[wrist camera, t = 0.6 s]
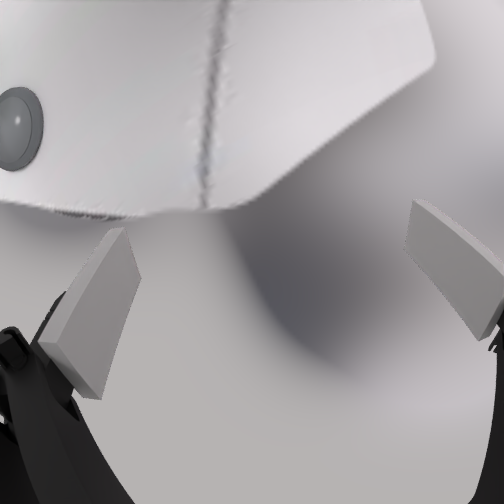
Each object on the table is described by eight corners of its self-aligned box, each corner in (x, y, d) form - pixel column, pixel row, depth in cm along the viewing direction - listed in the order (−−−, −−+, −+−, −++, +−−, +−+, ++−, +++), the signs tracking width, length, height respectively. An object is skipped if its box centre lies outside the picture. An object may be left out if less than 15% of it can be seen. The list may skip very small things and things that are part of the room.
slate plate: (-15, 110, 25) (-21, 112, 24) (35, 72, 25) (30, 71, 24) (1, 180, 32) (-4, 182, 31) (52, 151, 32) (46, 153, 31)
